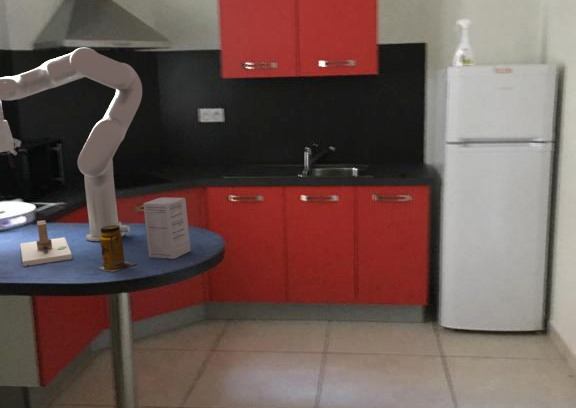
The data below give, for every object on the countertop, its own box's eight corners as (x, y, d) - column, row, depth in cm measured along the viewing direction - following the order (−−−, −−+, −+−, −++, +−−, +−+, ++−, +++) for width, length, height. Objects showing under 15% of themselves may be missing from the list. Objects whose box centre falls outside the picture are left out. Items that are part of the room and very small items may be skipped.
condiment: (97, 268, 191) (92, 228, 189) (121, 261, 197) (117, 222, 195) (112, 272, 186) (107, 231, 184) (137, 264, 193) (132, 224, 190)
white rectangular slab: (20, 247, 219) (20, 242, 219) (65, 241, 224) (64, 236, 224) (23, 266, 197) (22, 260, 197) (72, 258, 202) (71, 253, 202)
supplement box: (191, 251, 204) (187, 197, 200) (174, 259, 196) (168, 204, 192) (166, 249, 208) (161, 196, 204) (147, 257, 200) (142, 202, 196)
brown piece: (37, 246, 212) (33, 221, 210) (51, 244, 214) (48, 219, 212) (38, 253, 203) (35, 227, 202) (53, 251, 205) (50, 225, 203)
